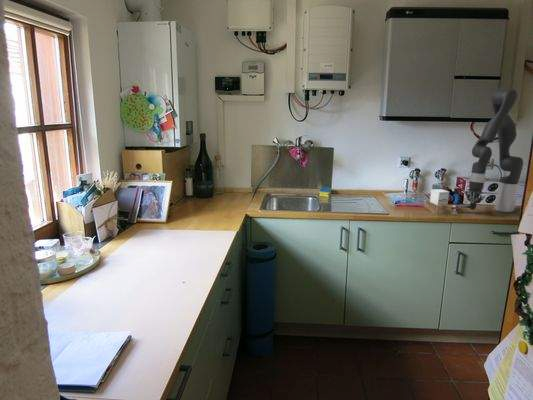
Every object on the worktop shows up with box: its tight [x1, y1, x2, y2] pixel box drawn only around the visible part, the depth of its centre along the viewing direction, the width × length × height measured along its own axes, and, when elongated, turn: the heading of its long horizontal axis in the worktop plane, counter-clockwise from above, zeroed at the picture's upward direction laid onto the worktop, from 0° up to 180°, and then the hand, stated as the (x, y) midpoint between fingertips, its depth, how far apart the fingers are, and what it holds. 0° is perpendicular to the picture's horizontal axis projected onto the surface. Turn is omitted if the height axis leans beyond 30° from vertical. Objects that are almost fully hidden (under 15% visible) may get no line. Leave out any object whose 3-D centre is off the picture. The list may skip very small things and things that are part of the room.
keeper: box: [424, 199, 458, 215], centre depth 231 cm, size 14×14×5 cm
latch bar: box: [452, 204, 477, 209], centre depth 227 cm, size 15×2×3 cm, turn 97°
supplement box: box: [429, 188, 450, 205], centre depth 230 cm, size 7×7×13 cm
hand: (472, 209), depth 225 cm, fingers closed
